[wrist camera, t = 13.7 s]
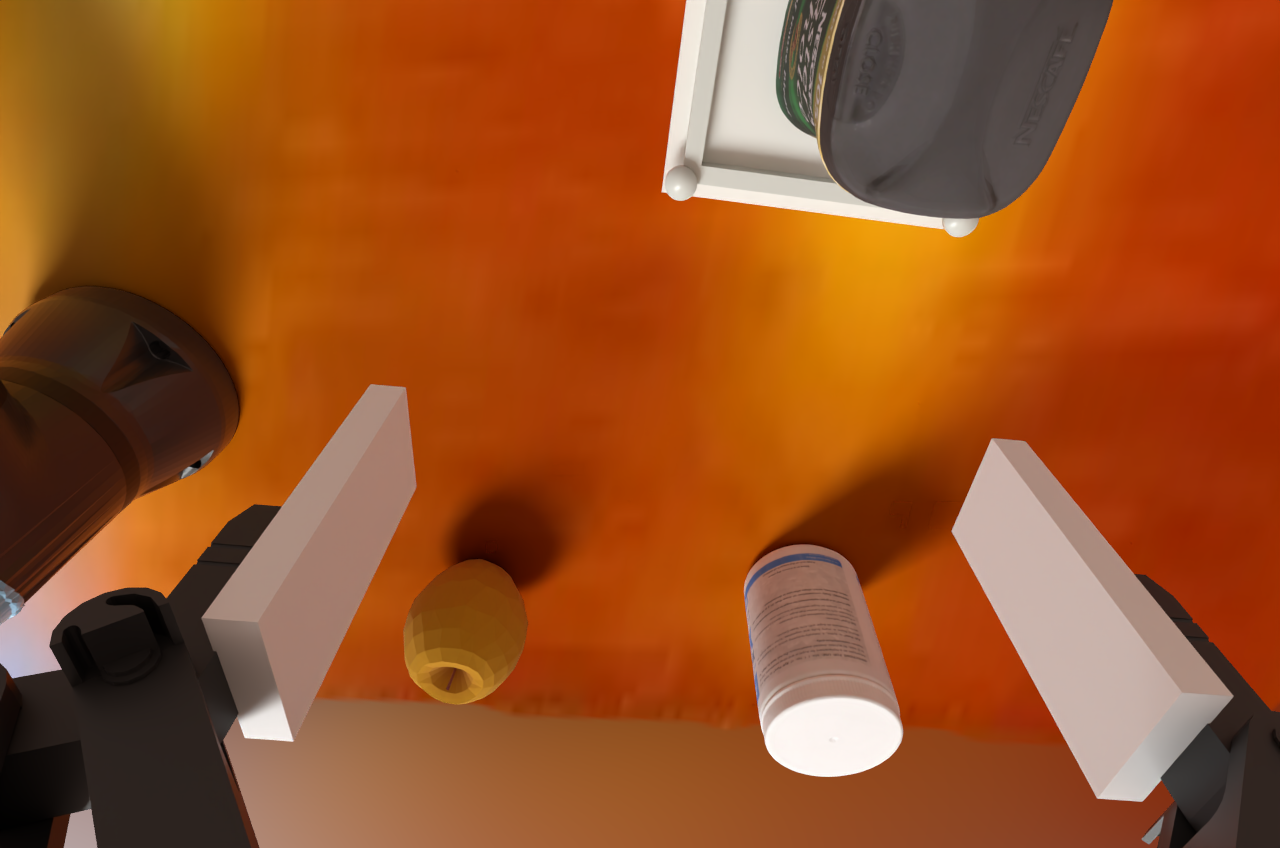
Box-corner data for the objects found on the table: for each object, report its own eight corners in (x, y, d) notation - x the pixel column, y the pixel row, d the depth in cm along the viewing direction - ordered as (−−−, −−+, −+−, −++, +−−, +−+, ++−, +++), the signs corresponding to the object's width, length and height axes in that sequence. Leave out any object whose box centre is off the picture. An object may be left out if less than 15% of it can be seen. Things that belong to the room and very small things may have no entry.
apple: (543, 618, 63) (518, 735, 53) (439, 613, 63) (394, 729, 53) (536, 537, 58) (506, 651, 48) (422, 532, 58) (368, 644, 48)
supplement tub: (720, 584, 59) (730, 741, 47) (799, 519, 55) (834, 674, 43) (800, 635, 62) (830, 795, 50) (881, 577, 58) (936, 737, 46)
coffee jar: (798, -87, 33) (902, -152, 18) (959, -64, 33) (1205, -111, 18) (757, 127, 38) (809, 223, 23) (897, 146, 39) (1045, 254, 23)
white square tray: (662, 185, 42) (660, 199, 39) (713, -208, 32) (716, -226, 29) (953, 224, 42) (972, 240, 39) (1090, -154, 33) (1128, -167, 30)
